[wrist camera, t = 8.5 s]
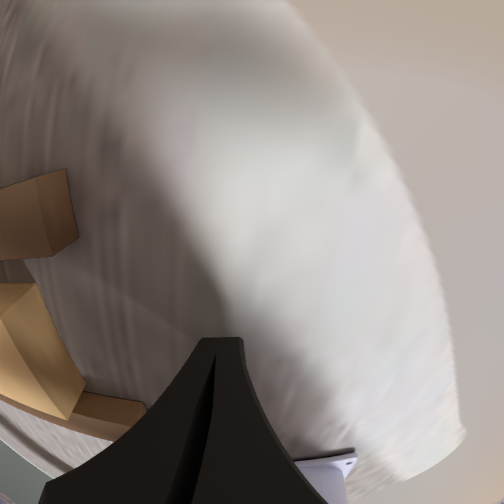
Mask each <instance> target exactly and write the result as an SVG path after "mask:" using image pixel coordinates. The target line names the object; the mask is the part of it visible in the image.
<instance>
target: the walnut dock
mask: <svg viewBox="0 0 504 504" xmlns="http://www.w3.org/2000/svg"><path fill="white" fill-rule="evenodd" d="M77 238H79V236H78V232H77V228H76V223H75V219H74V214H73V209H72V204H71V198H70V193H69V187H68V181H67V174H66V168H65V169H62V170H58V171H55V172H51V173H48V174H44V175H41V176H38V177H35V178H31V179H28V180H25V181H22V182H19V183H16V184H14V185H11V186H8V187H5V188H3V189H0V260H10V259H25V258H40V257H53V256H54V255H56V254H57V253H58V252H60V251H61V250H62V249H64V248H65V247H66V246H68V245H69V244H70V243H72V242H73V241H75V240H76V239H77ZM0 400H2V401H4V402H6V403H8V404H10V405H12V406H14V407H16V408H18V409H21V410H23V411H25V412H27V413H29V414H32V415H34V416H36V417H39V418H41V419H44V420H46V421H49V422H51V423H54V424H57V425H59V426H62V427H65V428H68V429H71V430H74V431H77V432H80V433H83V434H87V435H90V436H93V437H97V438H101V439H105V440H108V441H112V442H115V441H116V440H117V439H118V438H120V437H121V436H122V435H123V434H124V433H125V432H126V431H128V430H129V429H130V428H131V427H132V426H133V425H134V424H135V423H136V422H137V421H138V420H139V419H140V418H141V417H142V416H143V415H144V414H145V413H146V412H147V409H146V407H145V406H144V404H143V402H137V401H130V400H124V399H118V398H112V397H107V396H101V395H97V394H92V393H87V392H83V391H82V393H81V395H80V397H79V399H78V401H77V403H76V405H75V407H74V409H73V411H72V413H71V415H70V417H69V419H68V420H64V419H61V418H58V417H55V416H53V415H50V414H47V413H44V412H42V411H39V410H36V409H34V408H31V407H29V406H26V405H24V404H22V403H19V402H17V401H15V400H13V399H11V398H8V397H6V396H4V395H2V394H0Z"/></svg>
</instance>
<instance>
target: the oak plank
mask: <svg viewBox="0 0 504 504" xmlns="http://www.w3.org/2000/svg"><path fill="white" fill-rule="evenodd" d="M86 384H87V383H86V382H85V380H84V378H83V377H82V375H81V374H80V372H79V370H78V369H77V367H76V365H75V363H74V362H73V360H72V358H71V356H70V354H69V353H68V351H67V349H66V347H65V345H64V343H63V341H62V339H61V337H60V336H59V334H58V331H57V329H56V327H55V325H54V323H53V321H52V319H51V317H50V315H49V312H48V310H47V308H46V305H45V303H44V301H43V298H42V296H41V293H40V291H39V288H38V286H37V283H0V394H2V395H4V396H6V397H8V398H11V399H13V400H15V401H17V402H19V403H22V404H24V405H26V406H29V407H31V408H34V409H36V410H39V411H42V412H44V413H47V414H50V415H53V416H55V417H58V418H61V419H64V420H68V419H69V417H70V415H71V413H72V411H73V409H74V407H75V405H76V403H77V401H78V399H79V397H80V395H81V393H82V391H83V389H84V387H85V385H86Z"/></svg>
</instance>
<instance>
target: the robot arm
mask: <svg viewBox="0 0 504 504" xmlns="http://www.w3.org/2000/svg"><path fill="white" fill-rule="evenodd" d="M357 459H358V455H357V454H356V453H351V454H346V455H340V456H334V457H328V458H321V459H314V460H305V461H296V462H294V461H293V460H292V459H291V457H290V456H289V454H288V453H287V452H286V450H285V448H284V447H283V445H282V444H281V442H280V440H279V439H278V437H277V436H276V434H275V432H274V430H273V428H272V427H271V425H270V423H269V421H268V419H267V417H266V415H265V413H264V411H263V409H262V407H261V405H260V402H259V400H258V398H257V395H256V393H255V391H254V388H253V385H252V382H251V379H250V377H249V374H248V370H247V367H246V360H245V352H244V343H243V339H241V338H240V337H222V338H202V339H201V340H200V341H199V342H198V344H197V346H196V347H195V349H194V350H193V352H192V353H191V355H190V357H189V358H188V360H187V361H186V363H185V364H184V366H183V367H182V368H181V370H180V371H179V373H178V374H177V375H176V377H175V378H174V379H173V381H172V382H171V384H170V385H169V386H168V387H167V389H166V390H165V391H164V392H163V394H162V395H161V396H160V397H159V398H158V400H157V401H156V402H155V403H154V404H153V405H152V407H151V408H150V409H149V410H148V411H147V412H146V413H145V414H144V415H143V416H142V417H141V418H140V419H139V420H138V421H137V422H136V423H135V424H134V425H133V426H132V427H131V428H130V429H129V430H128V431H126V432H125V433H124V434H123V435H122V436H121V437H120V438H118V439H117V440H116V441H115V442H114V443H112V444H111V445H110V446H108V447H107V448H106V449H104V450H103V451H102V452H100V453H99V454H97V455H96V456H94V457H93V458H91V459H90V460H88V461H87V462H85V463H84V464H82V465H80V466H79V467H77V468H75V469H73V470H71V471H69V472H67V473H65V474H63V475H61V476H59V477H57V478H55V479H53V480H51V481H49V482H46V484H45V486H44V489H43V492H42V494H41V497H40V500H39V503H38V504H349V502H348V496H347V491H346V485H345V480H344V479H345V478H346V476H347V475H348V473H349V472H350V470H351V469H352V467H353V466H354V464H355V462H356V461H357ZM0 504H15V503H14V502H13V501H11V500H10V499H9V498H7V497H6V496H5V495H3V494H2V493H1V492H0ZM495 504H504V499H502V500H501V501H499V502H498V503H495Z"/></svg>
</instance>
